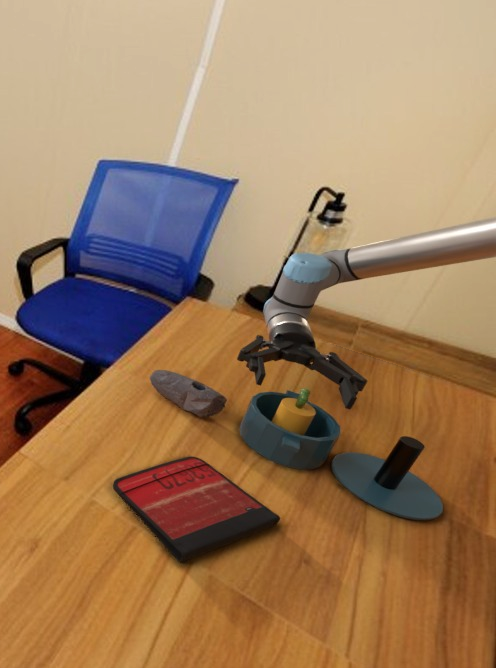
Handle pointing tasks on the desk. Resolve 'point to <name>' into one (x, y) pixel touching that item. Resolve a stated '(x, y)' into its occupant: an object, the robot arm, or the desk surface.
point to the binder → (192, 506)
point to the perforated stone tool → (188, 393)
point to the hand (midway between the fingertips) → (304, 391)
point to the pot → (288, 433)
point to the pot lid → (389, 481)
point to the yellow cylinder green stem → (295, 413)
